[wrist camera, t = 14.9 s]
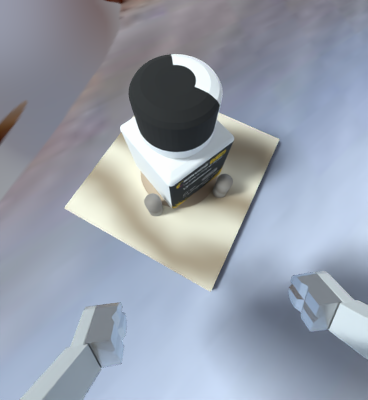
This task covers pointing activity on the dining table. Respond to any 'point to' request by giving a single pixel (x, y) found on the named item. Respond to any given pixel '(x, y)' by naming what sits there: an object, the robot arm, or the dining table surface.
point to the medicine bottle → (177, 125)
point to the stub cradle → (183, 214)
